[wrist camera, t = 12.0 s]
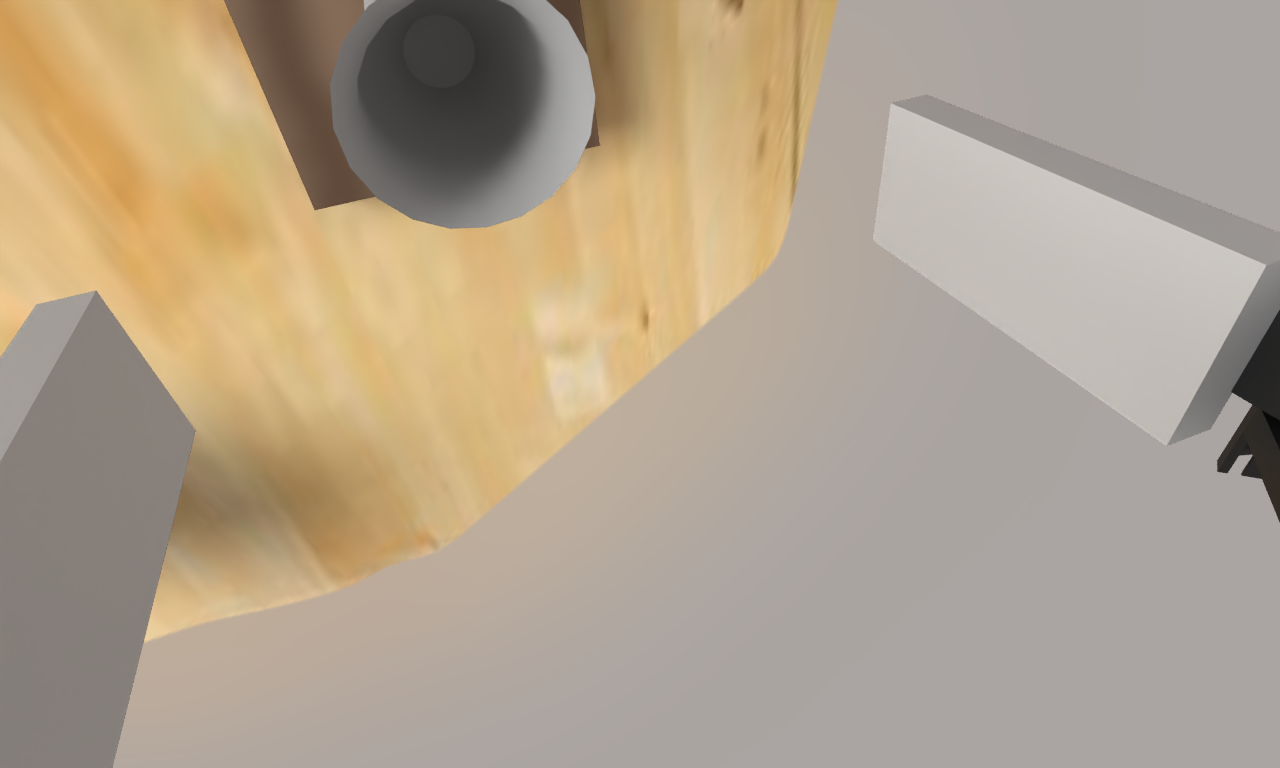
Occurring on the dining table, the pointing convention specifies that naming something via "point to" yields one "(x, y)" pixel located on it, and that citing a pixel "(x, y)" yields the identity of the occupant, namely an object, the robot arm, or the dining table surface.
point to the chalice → (462, 106)
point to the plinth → (319, 82)
